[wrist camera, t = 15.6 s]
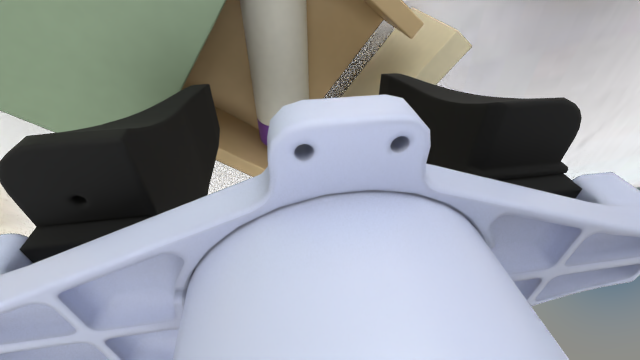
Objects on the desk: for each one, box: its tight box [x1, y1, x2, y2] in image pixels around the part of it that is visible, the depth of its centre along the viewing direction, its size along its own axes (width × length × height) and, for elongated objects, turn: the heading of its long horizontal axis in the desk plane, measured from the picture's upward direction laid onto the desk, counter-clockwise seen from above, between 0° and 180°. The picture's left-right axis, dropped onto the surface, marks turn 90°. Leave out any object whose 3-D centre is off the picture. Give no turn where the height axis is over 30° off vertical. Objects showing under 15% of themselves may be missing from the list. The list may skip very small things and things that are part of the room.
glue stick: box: [240, 0, 309, 146], centre depth 16 cm, size 8×3×3 cm, turn 0°
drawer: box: [182, 0, 472, 177], centre depth 17 cm, size 18×12×5 cm
